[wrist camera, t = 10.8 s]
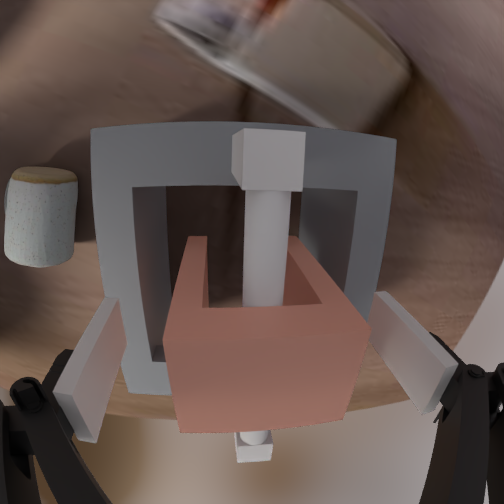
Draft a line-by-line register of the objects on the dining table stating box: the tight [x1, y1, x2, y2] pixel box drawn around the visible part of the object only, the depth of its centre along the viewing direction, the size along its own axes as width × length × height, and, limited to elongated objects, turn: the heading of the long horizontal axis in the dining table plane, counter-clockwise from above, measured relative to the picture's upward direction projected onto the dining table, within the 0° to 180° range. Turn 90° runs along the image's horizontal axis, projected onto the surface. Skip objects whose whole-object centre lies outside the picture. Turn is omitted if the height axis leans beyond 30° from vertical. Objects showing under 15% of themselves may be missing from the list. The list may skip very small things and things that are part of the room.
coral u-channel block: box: [162, 236, 372, 433], centre depth 15 cm, size 7×5×11 cm
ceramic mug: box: [4, 167, 78, 267], centre depth 23 cm, size 11×8×8 cm
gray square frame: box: [91, 121, 397, 463], centre depth 21 cm, size 18×19×19 cm
